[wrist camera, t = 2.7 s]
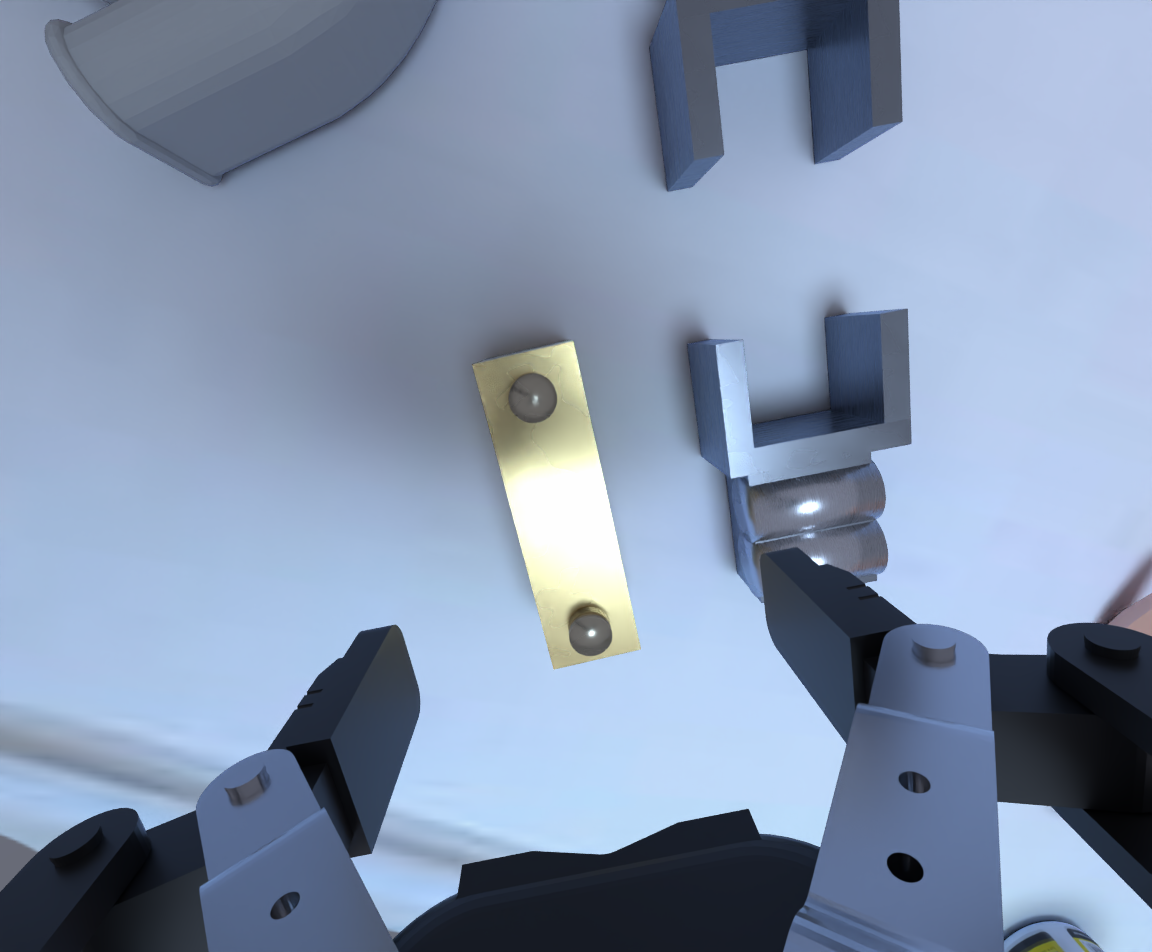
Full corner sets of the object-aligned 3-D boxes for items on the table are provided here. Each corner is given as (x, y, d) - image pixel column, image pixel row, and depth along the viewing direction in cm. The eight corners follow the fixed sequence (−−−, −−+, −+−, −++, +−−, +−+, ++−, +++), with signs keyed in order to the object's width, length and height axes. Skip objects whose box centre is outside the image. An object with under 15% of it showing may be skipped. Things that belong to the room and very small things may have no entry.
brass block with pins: (551, 608, 26) (554, 681, 21) (486, 358, 23) (468, 365, 18) (623, 592, 26) (644, 660, 21) (567, 340, 23) (574, 340, 18)
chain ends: (716, 577, 26) (746, 618, 22) (624, -150, 19) (644, -273, 15) (860, 549, 26) (915, 586, 22) (820, -186, 19) (889, -317, 15)
